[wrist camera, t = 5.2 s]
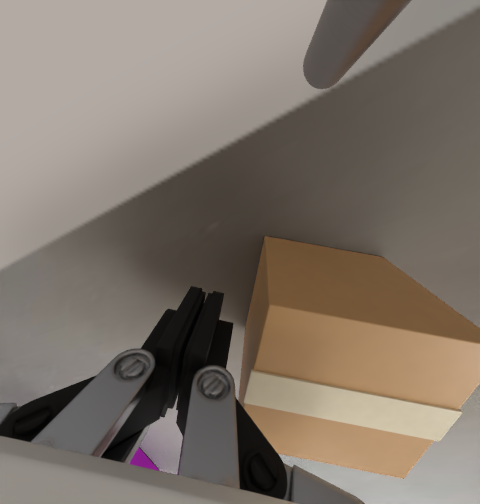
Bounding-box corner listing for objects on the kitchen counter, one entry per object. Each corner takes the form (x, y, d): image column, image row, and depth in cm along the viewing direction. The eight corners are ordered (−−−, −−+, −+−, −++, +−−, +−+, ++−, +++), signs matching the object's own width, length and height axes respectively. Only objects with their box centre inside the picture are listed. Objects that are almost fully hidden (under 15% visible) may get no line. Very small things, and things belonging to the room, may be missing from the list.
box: (244, 329, 16) (232, 447, 9) (263, 235, 13) (267, 305, 6) (344, 348, 15) (406, 482, 9) (384, 257, 13) (512, 351, 6)
